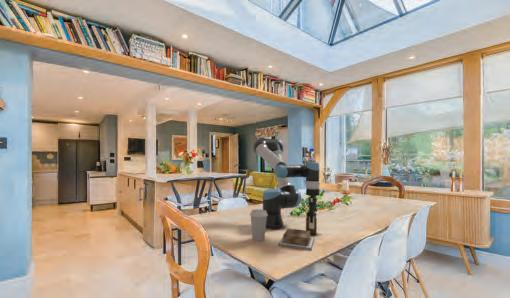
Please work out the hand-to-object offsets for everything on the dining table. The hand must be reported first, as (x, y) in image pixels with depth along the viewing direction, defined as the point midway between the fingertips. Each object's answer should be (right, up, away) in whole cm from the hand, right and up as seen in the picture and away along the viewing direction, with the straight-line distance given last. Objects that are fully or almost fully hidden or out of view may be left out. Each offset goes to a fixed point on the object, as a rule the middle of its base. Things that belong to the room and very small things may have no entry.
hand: (312, 225), depth 136 cm
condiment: (0, -5, 0) cm, 5 cm away
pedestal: (-12, -4, -15) cm, 19 cm away
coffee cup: (-32, -4, -11) cm, 34 cm away
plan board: (-12, -4, -15) cm, 19 cm away
